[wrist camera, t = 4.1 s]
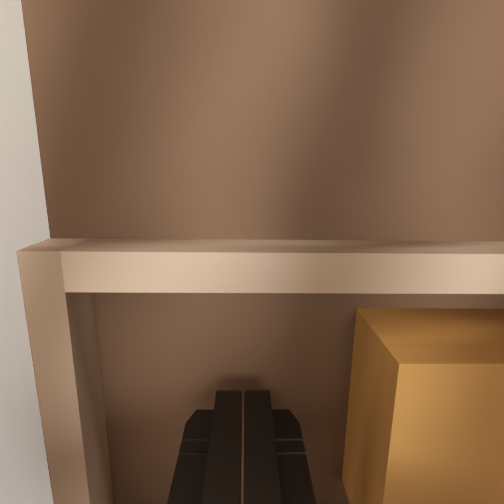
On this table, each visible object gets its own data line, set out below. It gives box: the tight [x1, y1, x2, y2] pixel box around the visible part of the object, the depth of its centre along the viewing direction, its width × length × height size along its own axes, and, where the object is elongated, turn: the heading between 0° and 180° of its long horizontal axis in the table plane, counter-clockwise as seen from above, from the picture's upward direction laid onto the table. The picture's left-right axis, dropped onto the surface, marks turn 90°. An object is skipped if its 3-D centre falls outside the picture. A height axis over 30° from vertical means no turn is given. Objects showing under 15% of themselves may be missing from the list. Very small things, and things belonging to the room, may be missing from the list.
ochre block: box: [342, 308, 504, 504], centre depth 10 cm, size 6×6×3 cm
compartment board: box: [17, 0, 504, 504], centre depth 11 cm, size 24×17×4 cm
